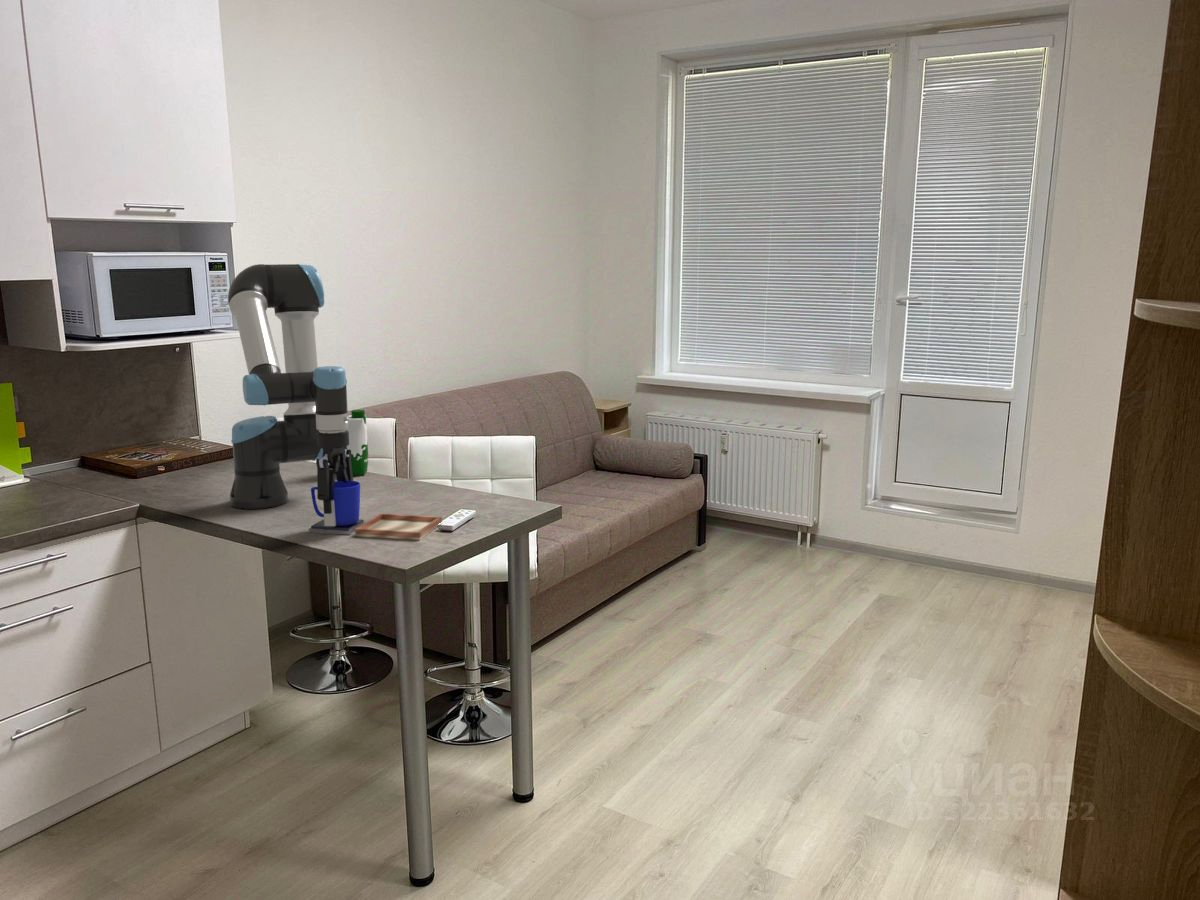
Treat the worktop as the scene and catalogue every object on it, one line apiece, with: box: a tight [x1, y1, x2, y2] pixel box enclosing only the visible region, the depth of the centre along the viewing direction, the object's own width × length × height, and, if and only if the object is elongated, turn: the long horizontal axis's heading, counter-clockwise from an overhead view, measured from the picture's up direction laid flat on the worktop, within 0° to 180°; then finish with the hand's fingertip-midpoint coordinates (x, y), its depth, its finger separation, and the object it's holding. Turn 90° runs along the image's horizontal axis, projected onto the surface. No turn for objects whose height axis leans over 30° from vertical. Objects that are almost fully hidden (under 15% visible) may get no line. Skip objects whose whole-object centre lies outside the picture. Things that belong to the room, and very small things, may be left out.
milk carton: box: [344, 409, 369, 477], centre depth 285 cm, size 9×9×20 cm
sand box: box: [354, 512, 443, 541], centre depth 225 cm, size 17×15×2 cm
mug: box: [310, 480, 361, 526], centre depth 225 cm, size 8×12×10 cm
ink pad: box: [308, 518, 366, 535], centre depth 227 cm, size 11×9×1 cm
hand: (337, 521), depth 226 cm, fingers closed on mug, 7 cm apart
